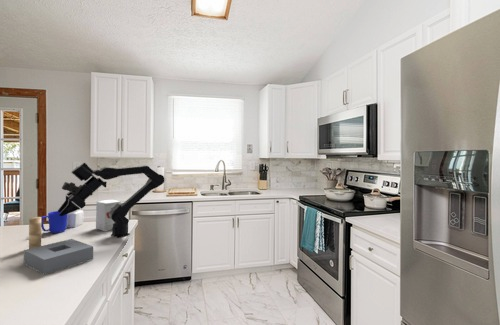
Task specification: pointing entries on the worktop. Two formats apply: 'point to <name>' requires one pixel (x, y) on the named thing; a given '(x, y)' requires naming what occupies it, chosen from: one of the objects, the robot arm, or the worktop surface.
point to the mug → (55, 222)
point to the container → (74, 218)
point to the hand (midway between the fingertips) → (59, 213)
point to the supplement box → (104, 214)
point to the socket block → (57, 255)
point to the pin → (34, 232)
